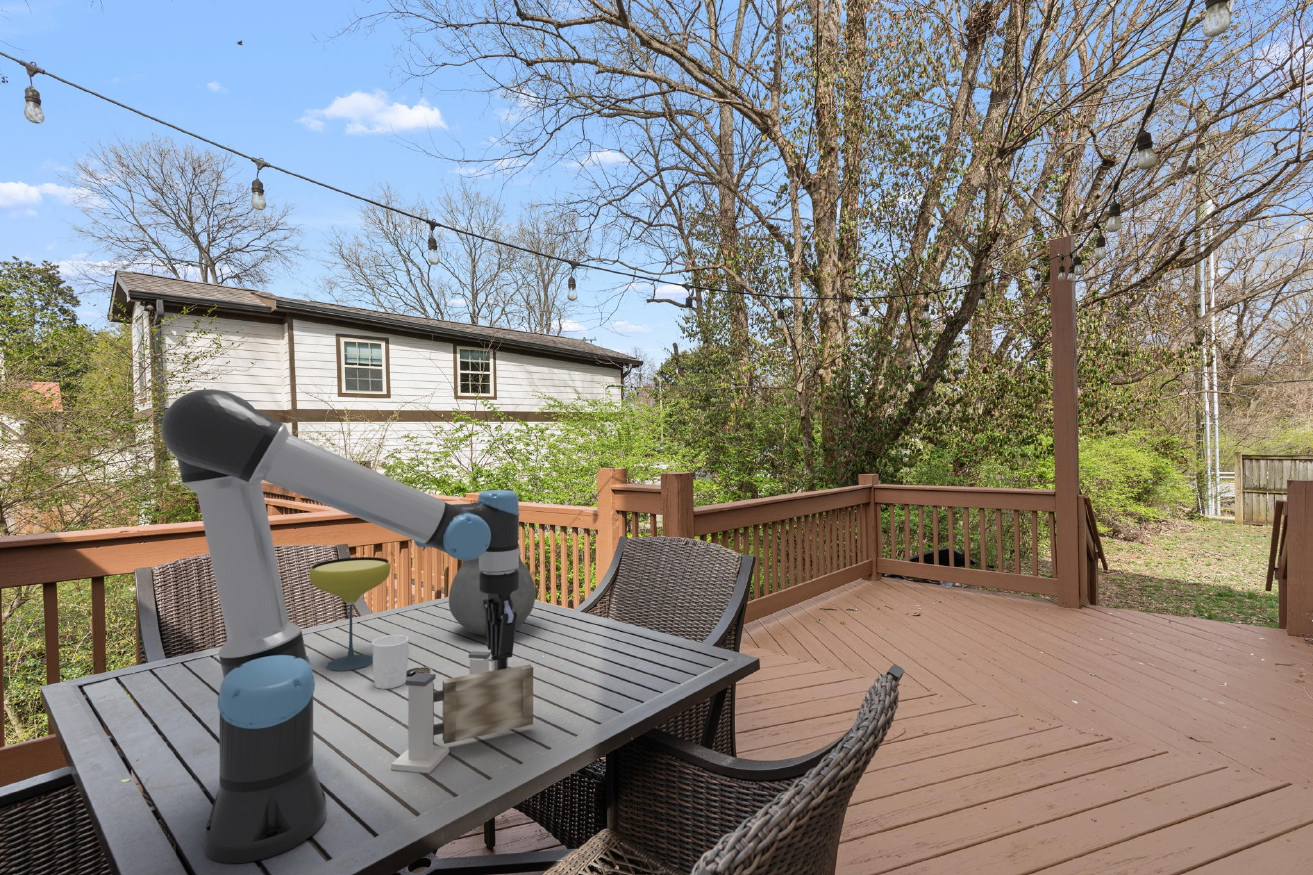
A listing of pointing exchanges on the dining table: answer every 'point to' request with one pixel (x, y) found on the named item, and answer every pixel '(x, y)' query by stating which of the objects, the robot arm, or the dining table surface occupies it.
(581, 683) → the dining table surface
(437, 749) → the hinge post
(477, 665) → the latch post
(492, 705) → the gate
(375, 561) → the cocktail glass
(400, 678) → the white cup
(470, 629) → the ceramic pot
